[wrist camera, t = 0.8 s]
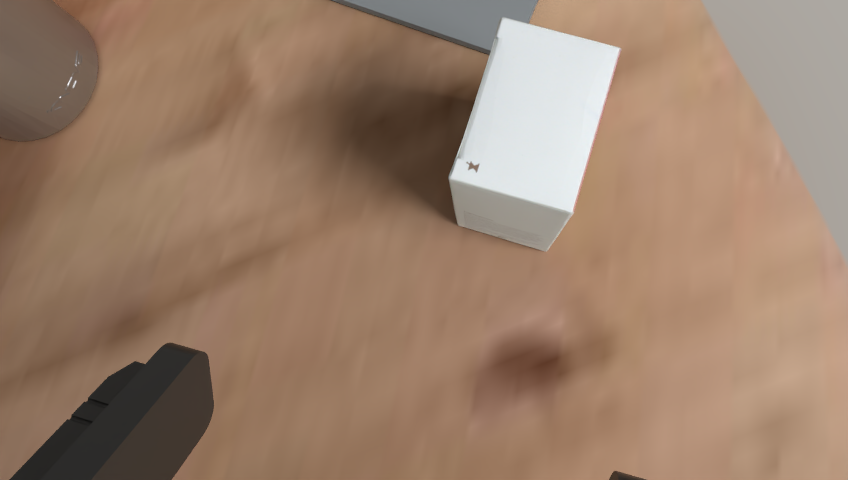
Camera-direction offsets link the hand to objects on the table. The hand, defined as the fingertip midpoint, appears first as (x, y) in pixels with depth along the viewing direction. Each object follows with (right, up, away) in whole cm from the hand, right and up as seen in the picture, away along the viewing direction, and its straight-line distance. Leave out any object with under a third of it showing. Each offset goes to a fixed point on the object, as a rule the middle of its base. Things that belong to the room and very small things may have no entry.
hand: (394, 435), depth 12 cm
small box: (+6, +8, +25) cm, 27 cm away
